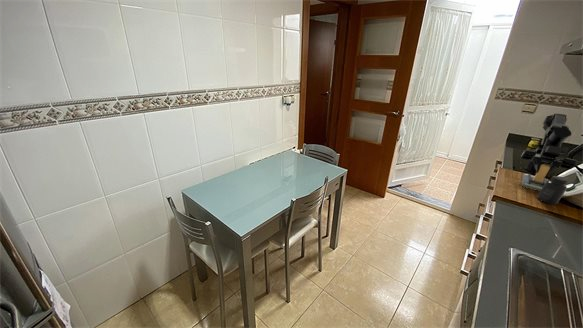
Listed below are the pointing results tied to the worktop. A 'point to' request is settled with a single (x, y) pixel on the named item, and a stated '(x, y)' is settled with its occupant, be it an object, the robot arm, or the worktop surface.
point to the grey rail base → (527, 182)
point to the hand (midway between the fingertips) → (541, 173)
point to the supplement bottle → (553, 190)
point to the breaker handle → (540, 174)
